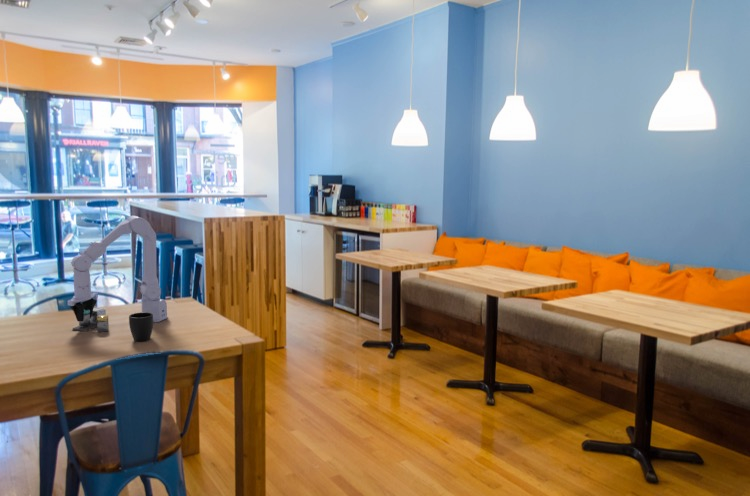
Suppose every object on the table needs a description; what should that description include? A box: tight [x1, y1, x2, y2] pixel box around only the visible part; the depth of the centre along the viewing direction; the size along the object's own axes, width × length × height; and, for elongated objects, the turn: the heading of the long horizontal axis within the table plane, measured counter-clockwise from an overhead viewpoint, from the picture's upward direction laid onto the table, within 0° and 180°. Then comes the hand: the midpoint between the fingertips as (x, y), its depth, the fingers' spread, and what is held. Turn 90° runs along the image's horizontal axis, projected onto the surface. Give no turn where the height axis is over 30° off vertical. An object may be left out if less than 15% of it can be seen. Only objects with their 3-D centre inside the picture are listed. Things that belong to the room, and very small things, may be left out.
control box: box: [90, 307, 107, 325], centre depth 224 cm, size 6×5×6 cm
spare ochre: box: [96, 314, 110, 334], centre depth 215 cm, size 4×4×6 cm
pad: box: [72, 325, 97, 332], centre depth 218 cm, size 6×6×1 cm
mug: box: [128, 311, 154, 343], centre depth 207 cm, size 8×12×10 cm
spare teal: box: [78, 309, 91, 326], centre depth 217 cm, size 4×4×6 cm
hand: (84, 319), depth 218 cm, fingers closed on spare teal, 4 cm apart
